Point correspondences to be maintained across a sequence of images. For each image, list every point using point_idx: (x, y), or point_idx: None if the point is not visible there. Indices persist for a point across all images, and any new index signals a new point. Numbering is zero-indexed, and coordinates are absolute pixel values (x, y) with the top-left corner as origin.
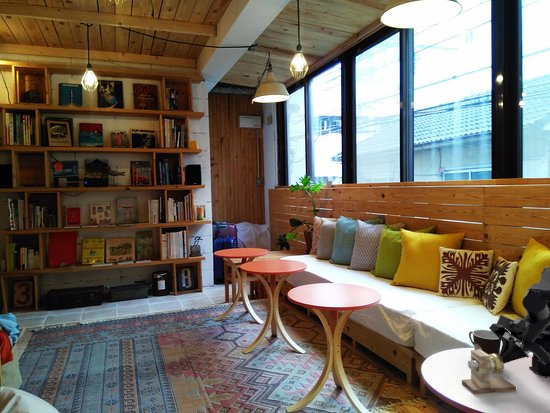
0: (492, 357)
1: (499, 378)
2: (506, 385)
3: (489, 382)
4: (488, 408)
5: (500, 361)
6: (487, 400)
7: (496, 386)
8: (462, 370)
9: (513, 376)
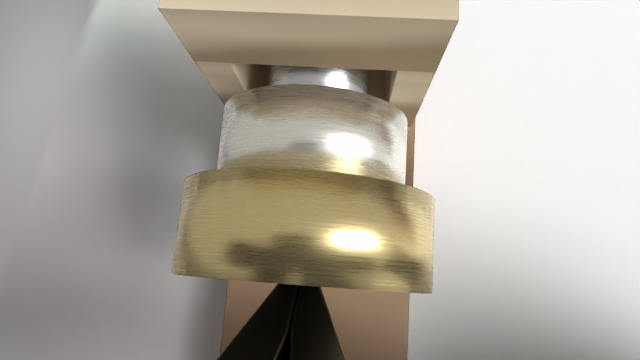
0: (282, 165)
1: (381, 352)
2: None
3: None
4: (92, 13)
5: (184, 233)
6: (171, 67)
7: None
8: (635, 182)
9: None
